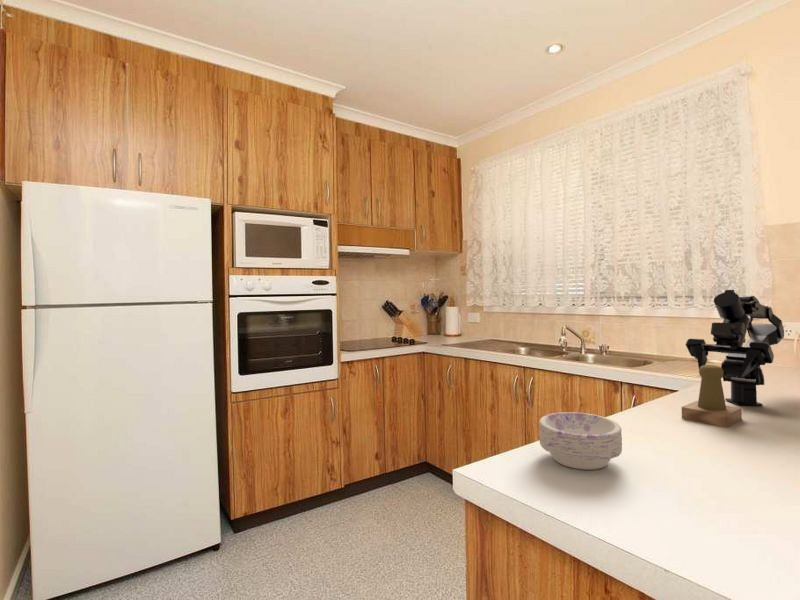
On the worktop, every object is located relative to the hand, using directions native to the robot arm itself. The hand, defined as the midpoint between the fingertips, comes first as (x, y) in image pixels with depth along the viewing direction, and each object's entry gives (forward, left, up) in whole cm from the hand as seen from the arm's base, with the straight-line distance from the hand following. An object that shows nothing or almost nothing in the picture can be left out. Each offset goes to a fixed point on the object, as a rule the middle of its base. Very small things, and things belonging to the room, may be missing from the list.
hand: (720, 374), depth 113 cm
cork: (+5, -5, -8) cm, 10 cm away
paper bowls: (+37, -45, -11) cm, 60 cm away
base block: (+5, -5, -11) cm, 13 cm away
